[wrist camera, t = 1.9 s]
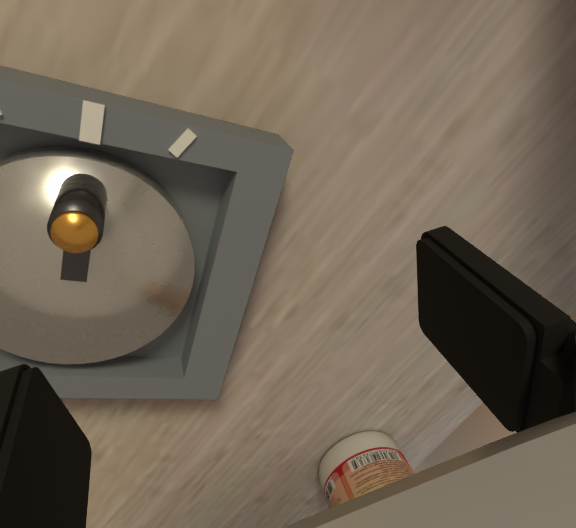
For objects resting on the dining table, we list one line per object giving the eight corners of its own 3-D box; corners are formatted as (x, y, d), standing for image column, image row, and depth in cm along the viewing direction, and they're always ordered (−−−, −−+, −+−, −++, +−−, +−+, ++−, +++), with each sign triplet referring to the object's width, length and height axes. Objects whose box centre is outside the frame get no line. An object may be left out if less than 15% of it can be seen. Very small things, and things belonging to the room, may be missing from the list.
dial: (211, 173, 29) (231, 218, 23) (170, 349, 35) (178, 421, 29) (-59, 118, 23) (-121, 160, 18) (-54, 338, 29) (-99, 423, 23)
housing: (278, 134, 30) (294, 151, 27) (211, 368, 39) (218, 401, 35) (-152, 28, 22) (-198, 34, 19) (-119, 357, 30) (-147, 399, 27)
